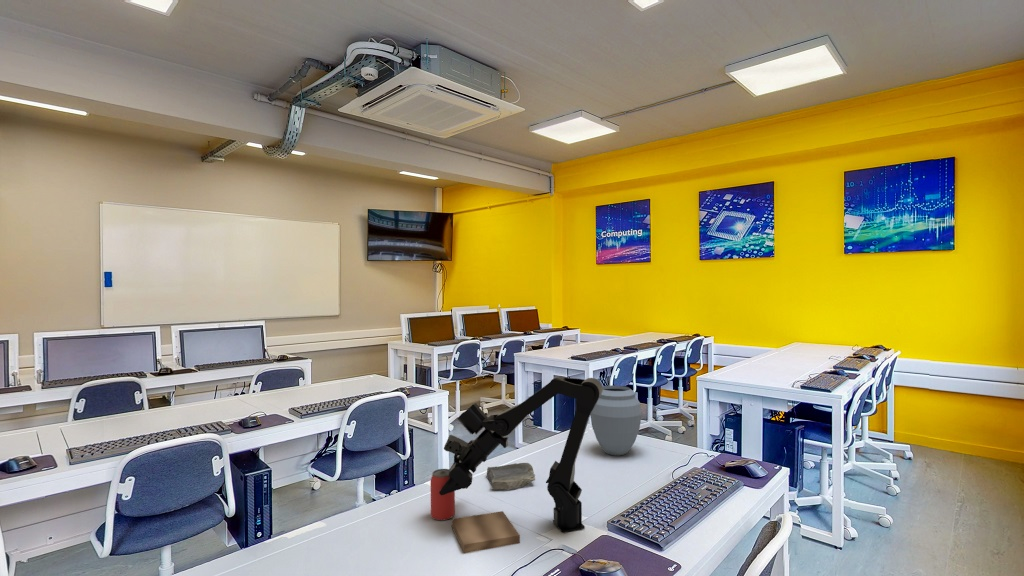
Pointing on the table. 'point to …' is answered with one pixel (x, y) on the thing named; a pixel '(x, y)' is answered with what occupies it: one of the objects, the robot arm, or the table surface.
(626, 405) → the vase
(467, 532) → the walnut block
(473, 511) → the table surface
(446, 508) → the beer can
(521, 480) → the grey irregular stone
